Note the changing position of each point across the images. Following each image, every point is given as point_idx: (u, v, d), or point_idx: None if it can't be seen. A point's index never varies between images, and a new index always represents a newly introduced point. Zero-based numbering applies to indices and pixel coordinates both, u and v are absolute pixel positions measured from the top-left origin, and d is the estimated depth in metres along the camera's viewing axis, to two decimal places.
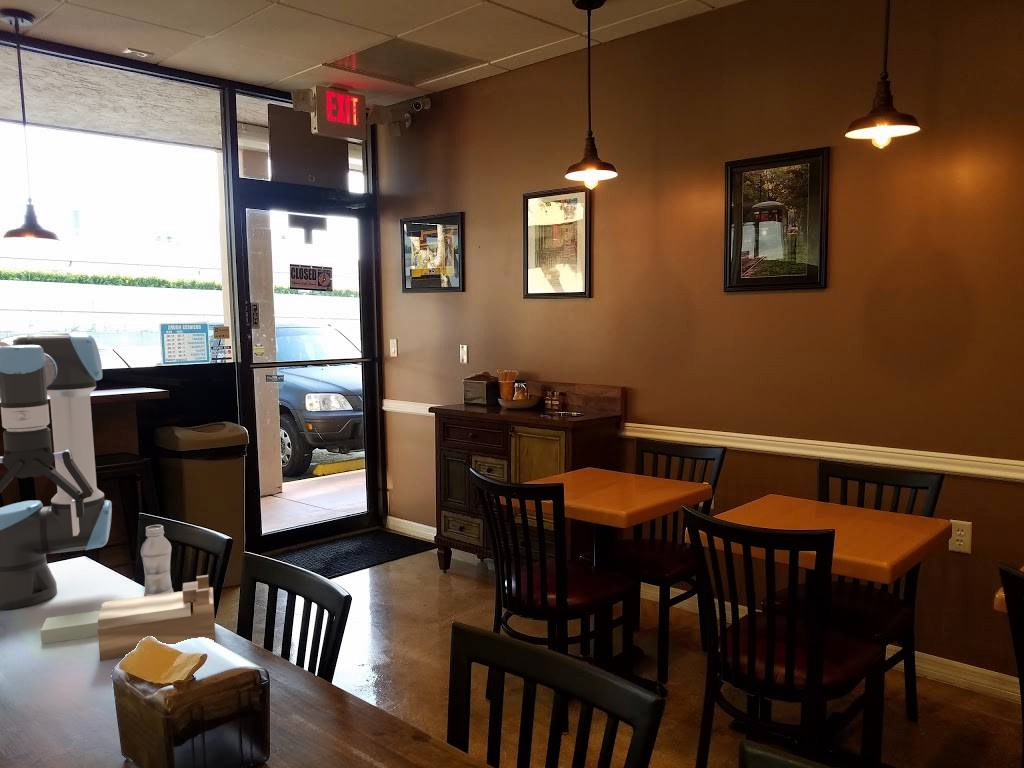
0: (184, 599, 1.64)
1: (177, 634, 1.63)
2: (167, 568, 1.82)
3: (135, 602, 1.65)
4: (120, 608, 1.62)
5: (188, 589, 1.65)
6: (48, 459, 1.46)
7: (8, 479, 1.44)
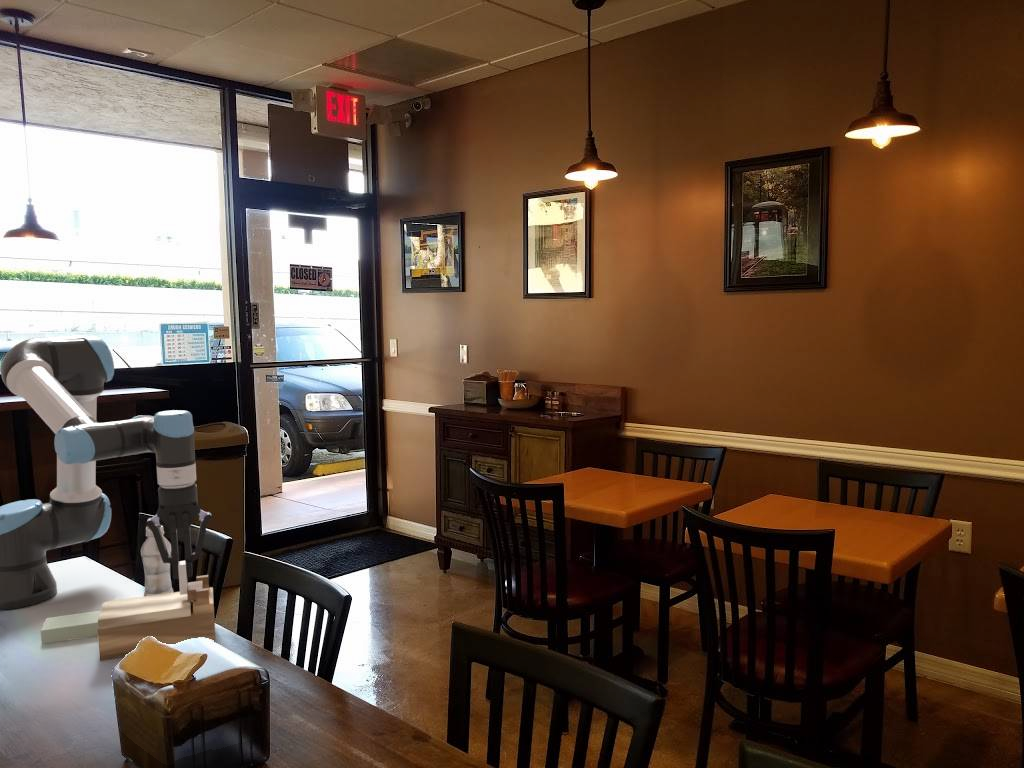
0: (189, 598, 1.65)
1: (177, 634, 1.63)
2: (167, 568, 1.82)
3: (135, 602, 1.65)
4: (120, 608, 1.62)
5: (193, 588, 1.65)
6: (194, 512, 1.65)
7: (174, 532, 1.63)
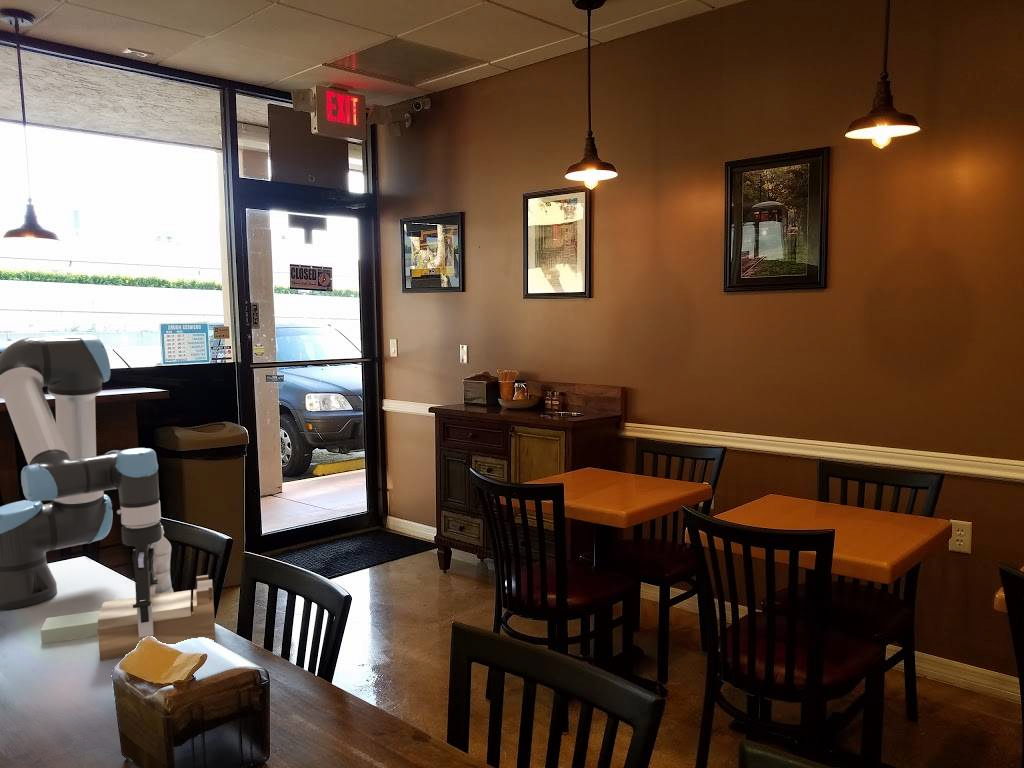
0: None
1: (177, 634, 1.63)
2: (167, 568, 1.82)
3: (135, 602, 1.65)
4: (120, 608, 1.62)
5: (203, 587, 1.66)
6: (136, 557, 1.59)
7: None
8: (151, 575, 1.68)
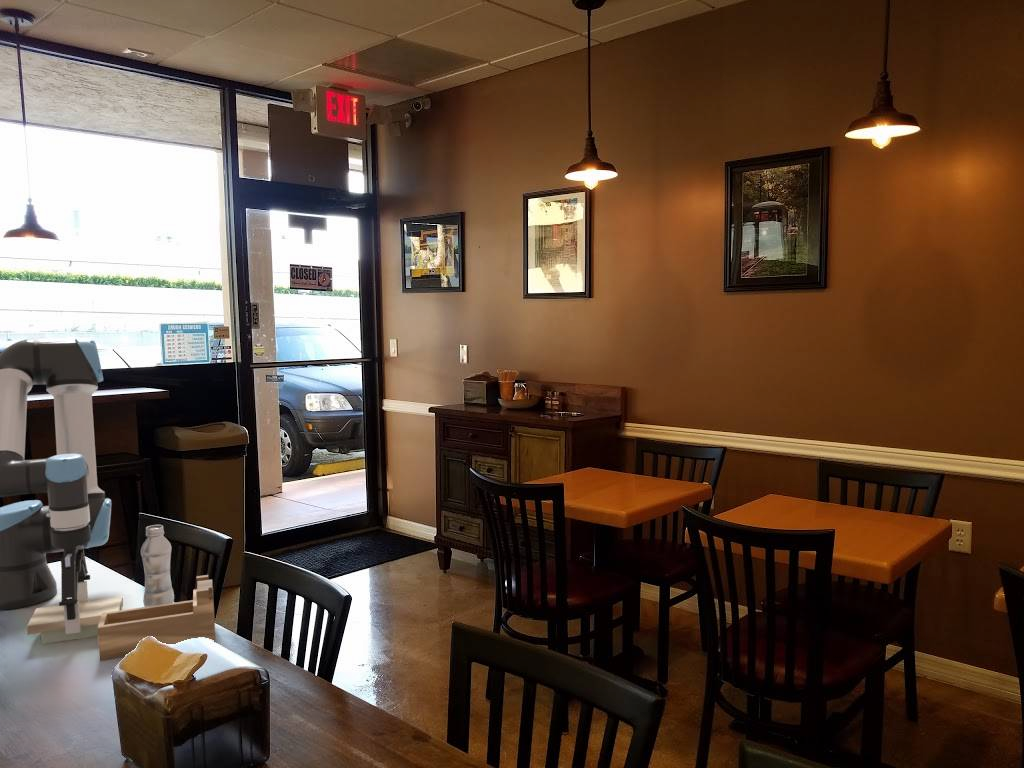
0: None
1: (177, 634, 1.63)
2: (167, 568, 1.82)
3: None
4: (50, 614, 1.69)
5: (203, 587, 1.66)
6: None
7: None
8: (83, 572, 1.75)
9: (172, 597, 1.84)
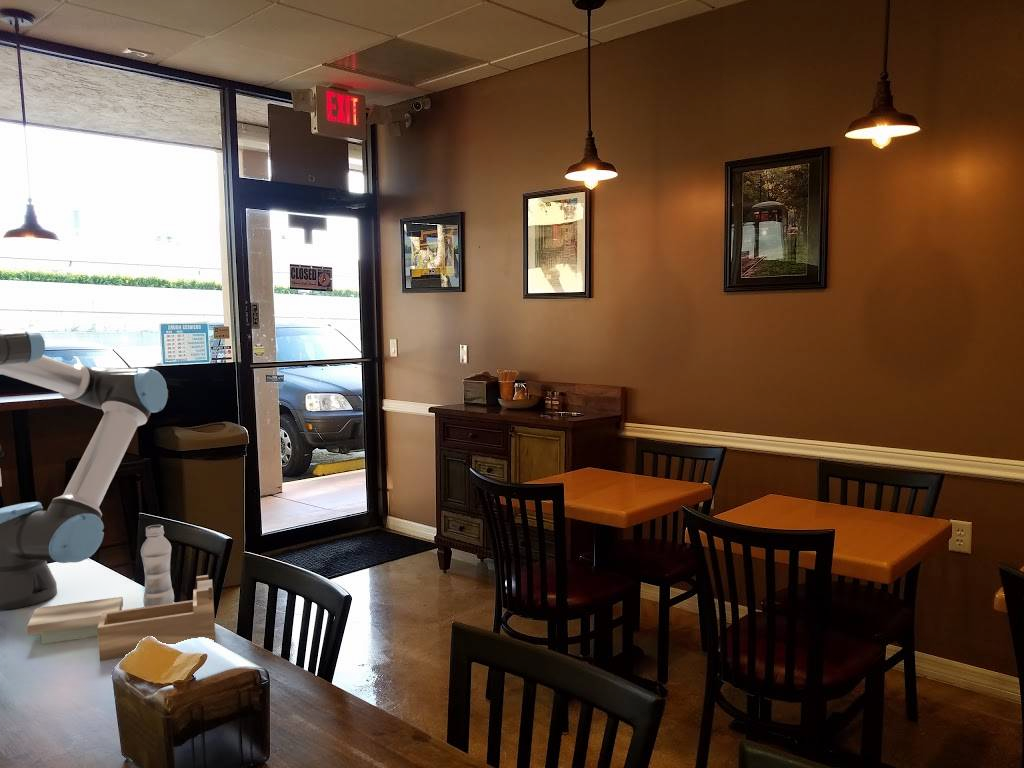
0: None
1: (177, 634, 1.63)
2: (167, 568, 1.82)
3: (66, 608, 1.72)
4: (50, 614, 1.69)
5: (203, 587, 1.66)
6: None
7: None
8: None
9: (172, 597, 1.84)
